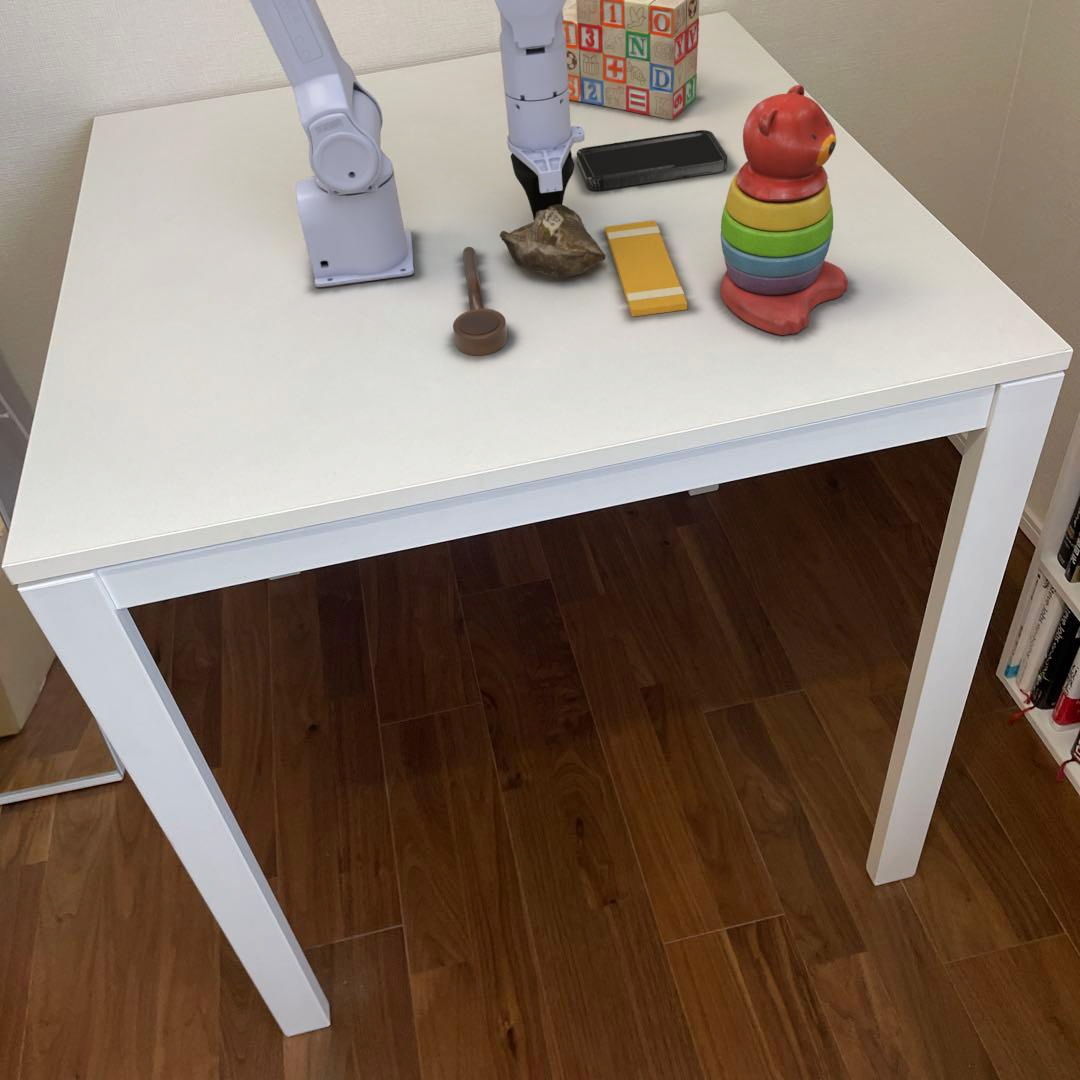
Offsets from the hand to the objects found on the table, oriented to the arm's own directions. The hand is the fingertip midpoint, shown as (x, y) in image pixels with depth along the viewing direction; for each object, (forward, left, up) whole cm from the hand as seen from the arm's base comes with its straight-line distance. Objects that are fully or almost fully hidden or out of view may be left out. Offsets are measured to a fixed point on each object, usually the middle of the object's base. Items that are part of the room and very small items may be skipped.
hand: (547, 226), depth 107 cm
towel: (+8, -8, -1) cm, 11 cm away
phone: (+13, +12, -2) cm, 18 cm away
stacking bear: (+19, -15, -2) cm, 24 cm away
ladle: (-8, -10, -1) cm, 12 cm away
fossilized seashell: (0, -5, -2) cm, 5 cm away
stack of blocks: (+11, +31, -2) cm, 33 cm away
